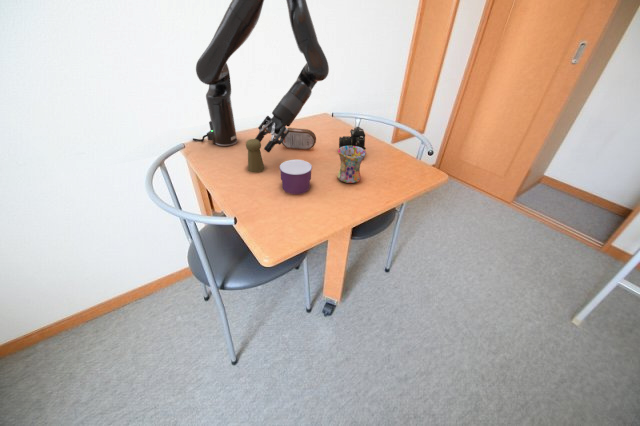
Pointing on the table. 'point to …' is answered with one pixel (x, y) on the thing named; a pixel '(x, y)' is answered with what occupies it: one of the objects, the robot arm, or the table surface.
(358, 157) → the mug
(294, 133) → the tin
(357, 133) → the film camera
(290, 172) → the yogurt tub
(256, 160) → the olive green pawn
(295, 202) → the table surface
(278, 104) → the robot arm
